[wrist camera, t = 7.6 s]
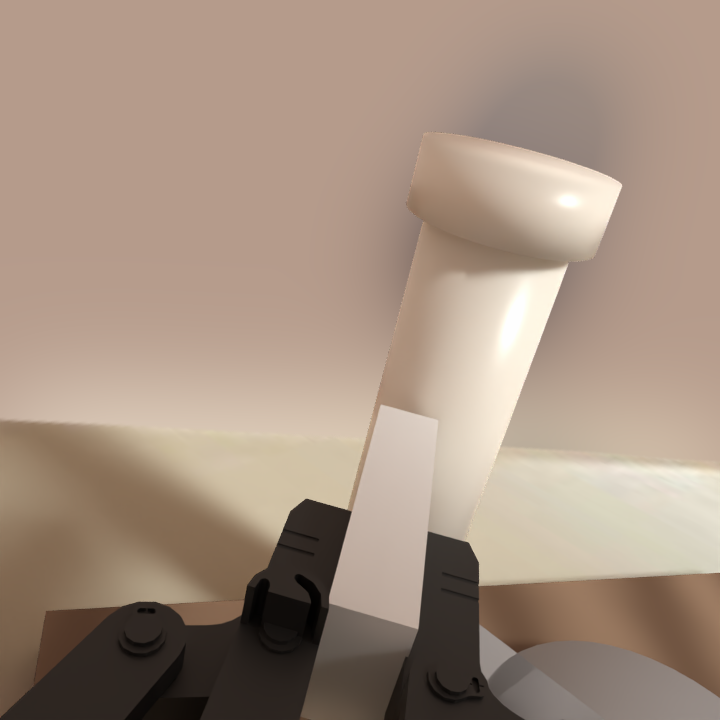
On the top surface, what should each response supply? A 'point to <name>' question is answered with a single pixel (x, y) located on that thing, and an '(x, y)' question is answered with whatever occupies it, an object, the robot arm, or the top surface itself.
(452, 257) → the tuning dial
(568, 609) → the board
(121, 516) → the top surface
